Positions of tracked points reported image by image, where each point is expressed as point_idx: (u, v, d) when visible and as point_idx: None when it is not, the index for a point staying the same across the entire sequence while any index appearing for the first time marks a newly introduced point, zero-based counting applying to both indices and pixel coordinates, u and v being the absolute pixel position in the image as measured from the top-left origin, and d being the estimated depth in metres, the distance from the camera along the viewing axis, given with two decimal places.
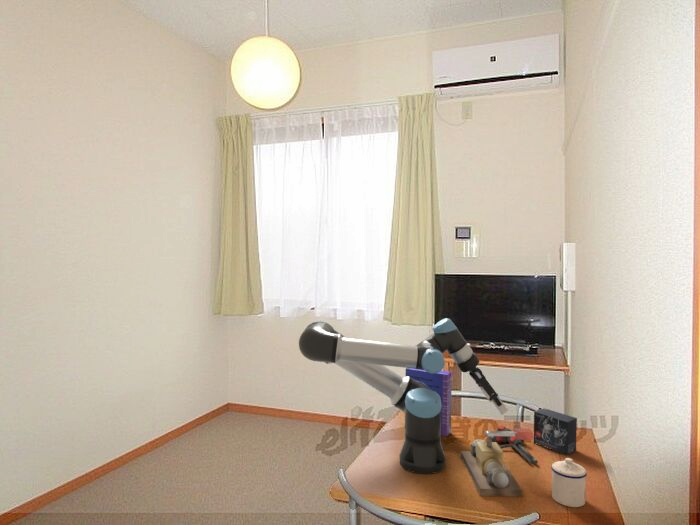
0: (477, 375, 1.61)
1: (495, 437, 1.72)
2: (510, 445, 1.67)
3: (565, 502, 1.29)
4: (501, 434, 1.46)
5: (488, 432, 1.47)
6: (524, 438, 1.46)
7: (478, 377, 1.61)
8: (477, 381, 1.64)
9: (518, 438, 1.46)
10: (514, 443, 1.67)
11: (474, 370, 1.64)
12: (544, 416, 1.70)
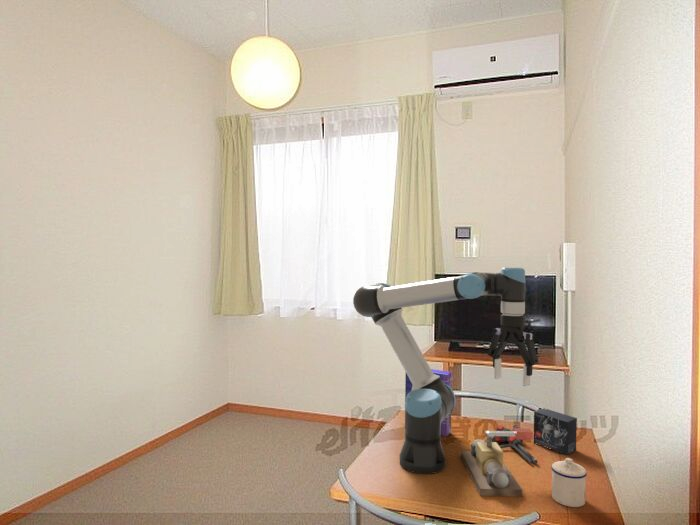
0: (530, 335, 1.48)
1: (494, 437, 1.72)
2: (509, 445, 1.67)
3: (565, 502, 1.29)
4: (501, 434, 1.46)
5: (488, 432, 1.47)
6: (524, 438, 1.46)
7: (530, 338, 1.48)
8: (518, 342, 1.51)
9: (518, 438, 1.46)
10: (513, 443, 1.67)
11: (522, 329, 1.51)
12: (544, 416, 1.70)
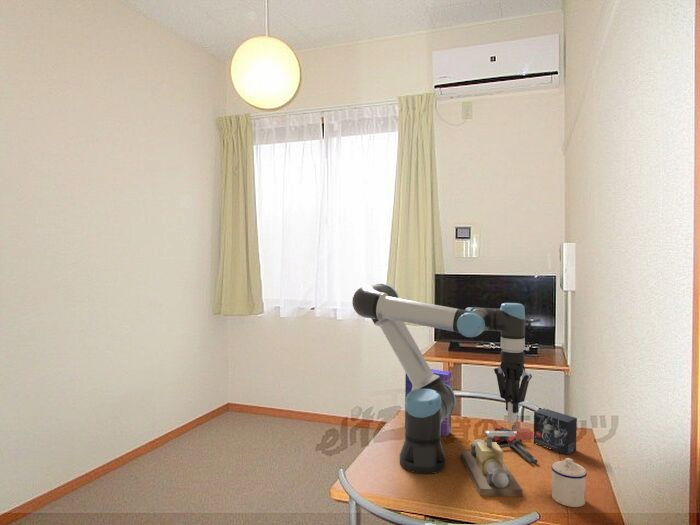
0: (528, 378, 1.49)
1: None
2: (509, 445, 1.67)
3: (565, 502, 1.29)
4: (501, 434, 1.46)
5: (488, 432, 1.47)
6: (524, 438, 1.46)
7: (527, 380, 1.49)
8: (514, 380, 1.52)
9: (518, 438, 1.46)
10: (513, 443, 1.67)
11: (522, 366, 1.51)
12: (544, 416, 1.70)
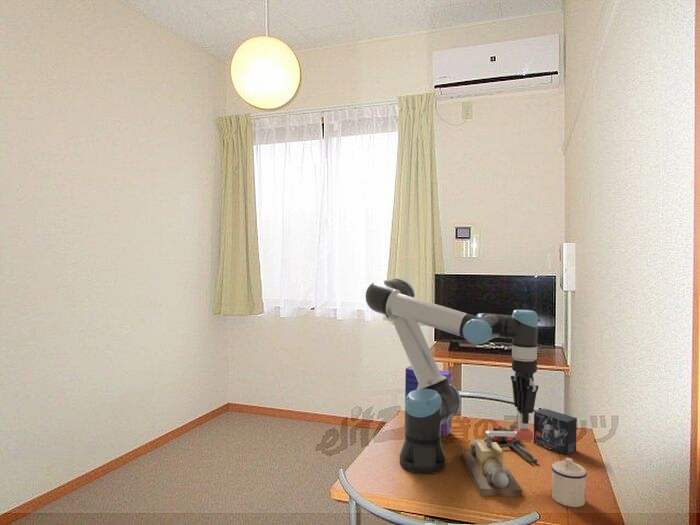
0: (533, 389, 1.43)
1: None
2: (508, 444, 1.67)
3: (565, 502, 1.29)
4: (501, 434, 1.46)
5: (488, 432, 1.47)
6: (524, 438, 1.46)
7: (532, 390, 1.43)
8: (522, 389, 1.47)
9: (518, 438, 1.46)
10: (512, 442, 1.67)
11: (530, 375, 1.45)
12: (544, 416, 1.70)
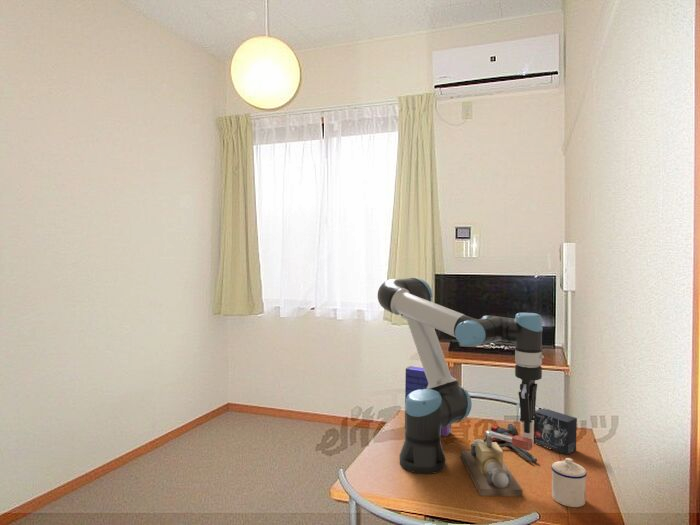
0: (521, 395, 1.36)
1: None
2: (507, 444, 1.68)
3: (565, 502, 1.29)
4: (498, 437, 1.44)
5: (487, 432, 1.47)
6: (519, 446, 1.39)
7: (521, 397, 1.37)
8: None
9: (513, 445, 1.40)
10: (510, 442, 1.68)
11: (524, 382, 1.38)
12: (544, 416, 1.70)
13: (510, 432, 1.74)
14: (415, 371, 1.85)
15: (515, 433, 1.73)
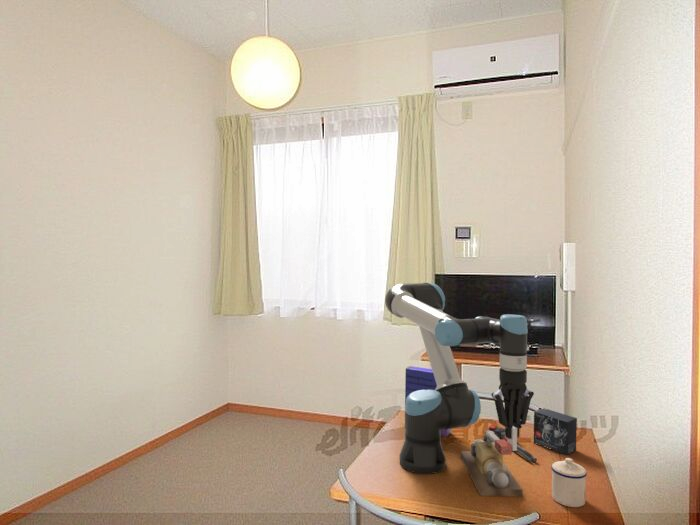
0: (493, 396, 1.35)
1: None
2: None
3: (565, 502, 1.29)
4: (490, 437, 1.44)
5: (487, 431, 1.48)
6: (497, 449, 1.37)
7: (494, 398, 1.35)
8: (504, 399, 1.37)
9: (495, 447, 1.39)
10: None
11: (501, 384, 1.35)
12: (544, 416, 1.70)
13: None
14: (415, 371, 1.85)
15: None
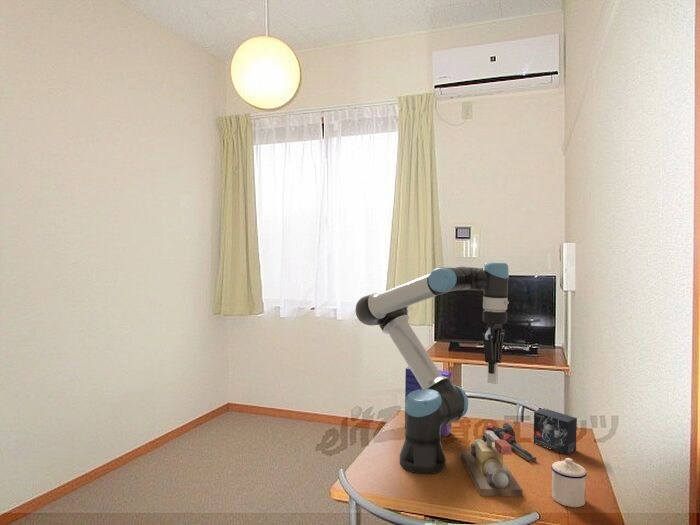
0: (485, 336, 1.47)
1: None
2: None
3: (565, 502, 1.29)
4: (490, 437, 1.44)
5: (487, 431, 1.48)
6: (497, 449, 1.37)
7: (485, 338, 1.47)
8: None
9: (495, 447, 1.39)
10: (508, 441, 1.68)
11: (489, 325, 1.48)
12: (544, 416, 1.70)
13: (506, 431, 1.75)
14: None
15: (511, 432, 1.74)
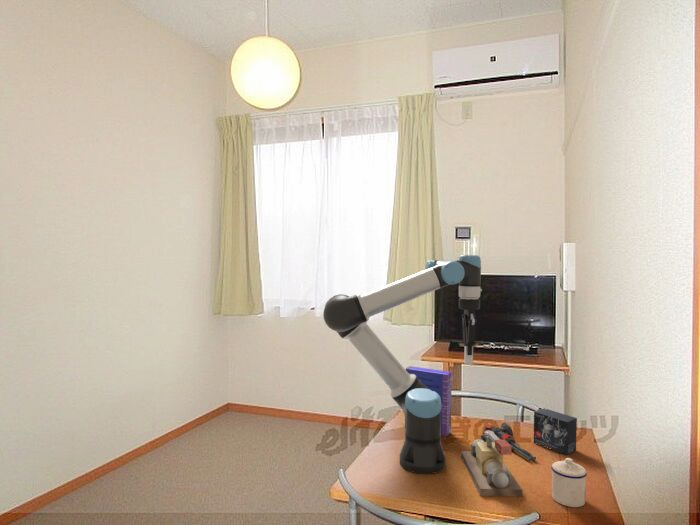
0: (472, 322, 1.62)
1: None
2: None
3: (565, 502, 1.29)
4: (490, 437, 1.44)
5: (487, 431, 1.48)
6: (497, 449, 1.37)
7: (471, 324, 1.62)
8: (466, 324, 1.66)
9: (495, 447, 1.39)
10: (507, 441, 1.68)
11: (471, 311, 1.64)
12: (544, 416, 1.70)
13: (505, 431, 1.75)
14: (415, 371, 1.85)
15: (510, 432, 1.74)
